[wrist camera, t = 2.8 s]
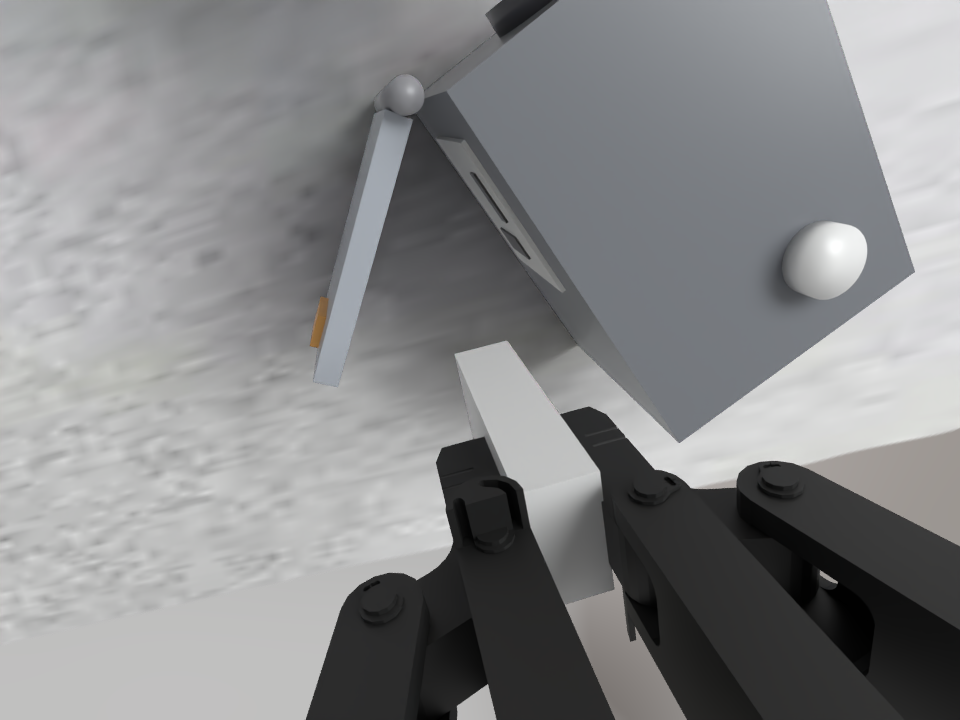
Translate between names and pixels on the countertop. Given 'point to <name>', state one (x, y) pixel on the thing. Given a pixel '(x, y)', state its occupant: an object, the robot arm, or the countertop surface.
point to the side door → (364, 225)
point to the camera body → (676, 184)
